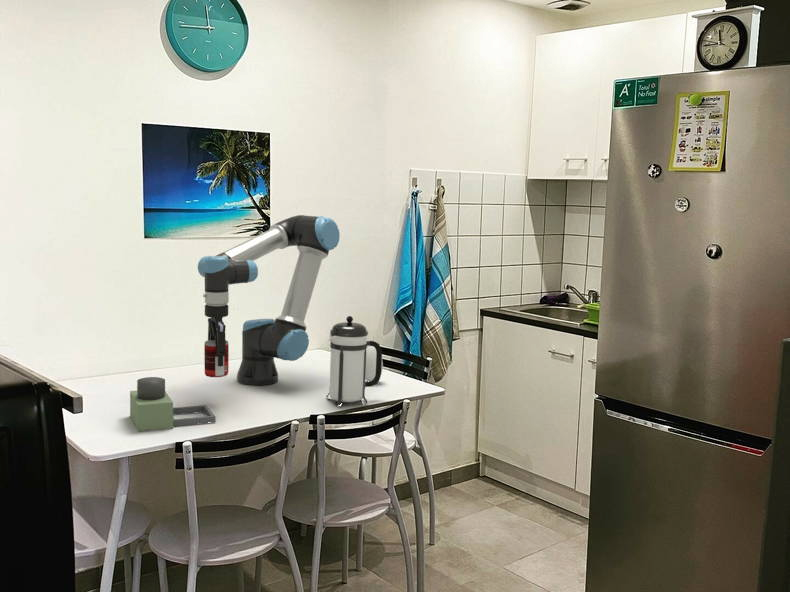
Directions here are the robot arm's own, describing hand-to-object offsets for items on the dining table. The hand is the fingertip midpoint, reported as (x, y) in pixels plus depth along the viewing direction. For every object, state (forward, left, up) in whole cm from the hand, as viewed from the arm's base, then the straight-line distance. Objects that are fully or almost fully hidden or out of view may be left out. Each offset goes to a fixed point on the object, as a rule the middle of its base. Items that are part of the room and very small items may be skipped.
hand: (216, 372), depth 254 cm
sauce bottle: (-62, -11, -11) cm, 63 cm away
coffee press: (-44, +10, -11) cm, 46 cm away
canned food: (0, 0, -1) cm, 1 cm away
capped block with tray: (+16, +13, -11) cm, 24 cm away
